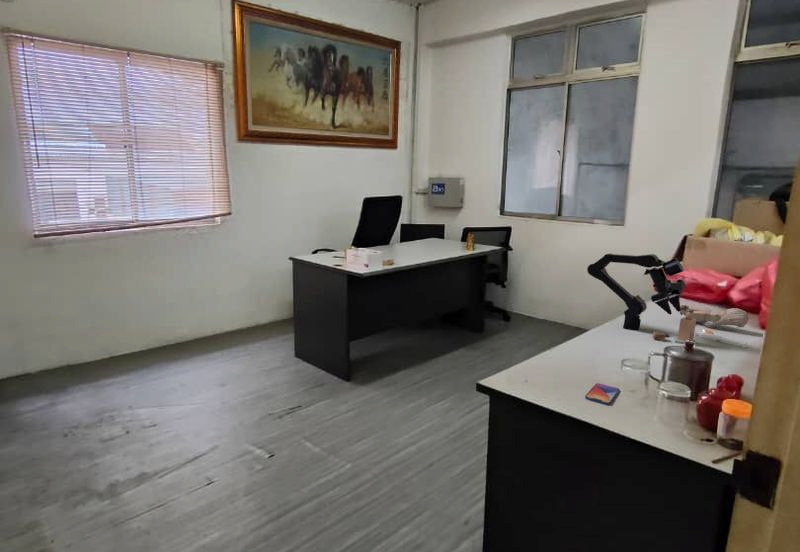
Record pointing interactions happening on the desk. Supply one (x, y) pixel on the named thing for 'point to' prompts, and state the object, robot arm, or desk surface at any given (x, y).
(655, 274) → the robot arm
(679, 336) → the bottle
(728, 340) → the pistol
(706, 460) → the desk surface
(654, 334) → the walnut block
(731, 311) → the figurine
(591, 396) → the smartphone
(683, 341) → the mat
